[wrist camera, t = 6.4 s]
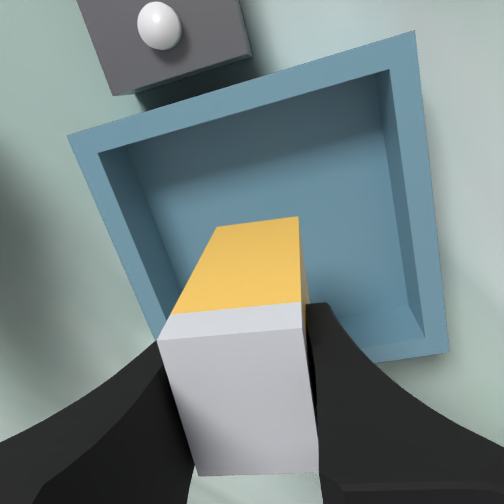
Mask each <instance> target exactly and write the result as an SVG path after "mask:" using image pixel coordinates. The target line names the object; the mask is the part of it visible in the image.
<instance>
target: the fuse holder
mask: <svg viewBox="0 0 504 504" xmlns="http://www.w3.org/2000/svg"><path fill="white" fill-rule="evenodd" d="M77 3H78V5H79V8H80V11H81V13H82V16H83V19H84V21H85V24H86V26H87V29H88V32H89V34H90V37H91V40H92V42H93V45H94V48H95V50H96V53H97V56H98V58H99V61H100V63H101V66H102V69H103V71H104V74H105V77H106V79H107V82H108V85H109V87H110V90H111V93H112V95H113V96H119V95H130V94H136V93H139V92H143V91H146V90H149V89H152V88H155V87H158V86H162V85H165V84H168V83H171V82H174V81H178V80H181V79H184V78H187V77H190V76H193V75H197V74H200V73H203V72H206V71H209V70H213V69H216V68H219V67H222V66H225V65H228V64H232V63H235V62H238V61H241V60H244V59H248V58H251V57H253V56H252V51H251V47H250V43H249V39H248V35H247V31H246V27H245V23H244V19H243V15H242V11H241V7H240V3H239V0H77Z"/></svg>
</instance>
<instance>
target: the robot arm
mask: <svg viewBox="0 0 504 504" xmlns="http://www.w3.org/2000/svg"><path fill="white" fill-rule="evenodd" d="M306 327H307V334H308V342H309V349H310V356H311V364H312V371H313V378H314V385H315V393H316V400H317V411H318V450H319V477H320V484H321V491H322V497H323V504H504V447H502V446H500V445H498V444H496V443H494V442H492V441H490V440H488V439H486V438H484V437H482V436H480V435H478V434H476V433H474V432H472V431H470V430H468V429H466V428H464V427H462V426H460V425H458V424H456V423H455V422H453V421H451V420H450V419H448V418H446V417H444V416H443V415H441V414H439V413H438V412H436V411H434V410H433V409H431V408H430V407H428V406H427V405H425V404H424V403H422V402H421V401H420V400H418V399H417V398H415V397H414V396H412V395H411V394H409V393H408V392H407V391H405V390H404V389H403V388H402V387H400V386H399V385H398V384H397V383H395V382H394V381H393V380H392V379H391V378H389V377H388V376H387V375H386V374H385V373H384V372H383V371H381V370H380V369H379V368H378V367H377V366H376V365H375V364H374V363H373V362H372V361H371V360H370V359H369V358H368V357H367V356H366V355H365V353H364V352H363V351H362V350H361V349H360V348H359V347H358V346H357V345H356V343H355V342H354V341H353V340H352V338H351V337H350V336H349V335H348V333H347V332H346V331H345V330H344V328H343V327H342V325H341V324H340V322H339V321H338V319H337V318H336V316H335V315H334V313H333V311H332V309H331V306H330V305H329V304H328V303H326V302H322V303H311V304H306ZM194 466H195V463H194V460H193V457H192V454H191V450H190V447H189V444H188V441H187V438H186V434H185V431H184V428H183V425H182V421H181V418H180V415H179V412H178V408H177V405H176V402H175V399H174V396H173V392H172V389H171V386H170V383H169V379H168V376H167V373H166V370H165V366H164V363H163V360H162V357H161V354H160V350H159V347H158V344H157V341H155V342H154V343H152V344H151V345H150V346H149V347H148V348H147V349H146V350H145V351H143V352H142V353H141V354H140V355H139V356H137V357H136V358H135V359H134V360H133V361H131V362H130V363H129V364H128V365H126V366H125V367H124V368H123V369H121V370H120V371H119V372H118V373H117V374H115V375H114V376H113V377H111V378H110V379H109V380H107V381H106V382H104V383H103V384H102V385H100V386H99V387H97V388H96V389H94V390H93V391H91V392H90V393H89V394H87V395H86V396H84V397H83V398H81V399H79V400H78V401H76V402H74V403H73V404H71V405H69V406H68V407H66V408H64V409H63V410H61V411H59V412H57V413H56V414H54V415H52V416H51V417H49V418H47V419H46V420H44V421H42V422H40V423H38V424H36V425H34V426H32V427H31V428H29V429H27V430H25V431H23V432H21V433H19V434H17V435H15V436H13V437H11V438H9V439H6V440H4V441H2V442H0V504H187V498H188V493H189V487H190V483H191V478H192V474H193V470H194Z"/></svg>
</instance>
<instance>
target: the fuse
mask: <svg viewBox="0 0 504 504" xmlns="http://www.w3.org/2000/svg"><path fill="white" fill-rule="evenodd" d="M306 304H310V302H309V294H308V286H307V278H306V271H305V263H304V255H303V248H302V240H301V232H300V225H299V217H298V216H296V217H288V218H281V219H273V220H265V221H258V222H250V223H242V224H234V225H227V226H219V227H216V229H215V231H214V233H213V235H212V237H211V239H210V240H209V242H208V244H207V246H206V248H205V250H204V252H203V254H202V256H201V257H200V259H199V261H198V263H197V265H196V267H195V269H194V271H193V273H192V274H191V276H190V278H189V280H188V282H187V284H186V286H185V288H184V290H183V291H182V293H181V295H180V297H179V299H178V301H177V303H176V305H175V307H174V308H173V310H172V312H171V314H170V316H169V318H168V320H167V322H166V323H165V325H164V327H163V329H162V331H161V333H160V335H159V337H158V339H157V340H156V341H157V344H158V347H159V350H160V354H161V357H162V360H163V363H164V366H165V370H166V373H167V376H168V379H169V383H170V386H171V389H172V392H173V396H174V399H175V402H176V405H177V408H178V412H179V415H180V418H181V421H182V425H183V428H184V431H185V434H186V438H187V441H188V444H189V447H190V450H191V454H192V457H193V460H194V463H195V467H196V470H197V473H198V476H228V475H261V474H293V473H319V450H318V411H317V400H316V393H315V385H314V378H313V371H312V364H311V356H310V349H309V342H308V334H307V327H306Z"/></svg>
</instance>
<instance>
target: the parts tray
mask: <svg viewBox="0 0 504 504" xmlns="http://www.w3.org/2000/svg"><path fill="white" fill-rule="evenodd" d="M67 138H68V140H69V143H70V145H71V147H72V150H73V152H74V154H75V157H76V159H77V161H78V164H79V166H80V168H81V170H82V173H83V175H84V177H85V180H86V182H87V184H88V187H89V189H90V191H91V194H92V196H93V198H94V200H95V203H96V205H97V207H98V210H99V212H100V214H101V217H102V219H103V221H104V224H105V226H106V228H107V230H108V233H109V235H110V237H111V240H112V242H113V244H114V247H115V249H116V251H117V254H118V256H119V258H120V260H121V263H122V265H123V267H124V270H125V272H126V274H127V277H128V279H129V281H130V284H131V286H132V288H133V290H134V293H135V295H136V297H137V300H138V302H139V304H140V307H141V309H142V311H143V314H144V316H145V318H146V320H147V323H148V325H149V327H150V330H151V332H152V334H153V337H154V339H155V341H156V340H157V339H158V337H159V335H160V333H161V331H162V329H163V327H164V325H165V323H166V322H167V320H168V318H169V316H170V314H171V312H172V310H173V308H174V307H175V305H176V303H177V301H178V299H179V297H180V295H181V293H182V291H183V290H184V288H185V286H186V284H187V282H188V280H189V278H190V276H191V274H192V273H193V271H194V269H195V267H196V265H197V263H198V261H199V259H200V257H201V256H202V254H203V252H204V250H205V248H206V246H207V244H208V242H209V240H210V239H211V237H212V235H213V233H214V231H215V229H216V227H219V226H227V225H234V224H242V223H250V222H258V221H265V220H273V219H281V218H288V217H296V216H298V217H299V225H300V232H301V240H302V248H303V255H304V263H305V271H306V278H307V286H308V294H309V302H310V304H311V303H322V302H326V303H328V304H329V305H330V306H331V309H332V311H333V313H334V315H335V316H336V318H337V319H338V321H339V322H340V324H341V325H342V327H343V328H344V330H345V331H346V332H347V333H348V335H349V336H350V337H351V338H352V340H353V341H354V342H355V343H356V345H357V346H358V347H359V348H360V349H361V350H362V351H363V352H364V353H365V355H366V356H367V357H368V358H369V359H370V360H371V361H372V362H373V363H380V362H387V361H394V360H400V359H407V358H413V357H420V356H427V355H433V354H440V353H446V352H450V351H449V342H448V332H447V323H446V314H445V305H444V295H443V286H442V277H441V268H440V258H439V249H438V240H437V231H436V221H435V212H434V203H433V194H432V184H431V175H430V166H429V157H428V147H427V138H426V129H425V119H424V110H423V101H422V92H421V82H420V73H419V64H418V55H417V45H416V36H415V30H413V31H410V32H407V33H403V34H400V35H397V36H394V37H390V38H387V39H384V40H380V41H377V42H374V43H370V44H367V45H364V46H361V47H357V48H354V49H351V50H347V51H344V52H341V53H337V54H334V55H331V56H328V57H324V58H321V59H318V60H314V61H311V62H308V63H304V64H301V65H298V66H295V67H291V68H288V69H285V70H281V71H278V72H275V73H271V74H268V75H265V76H262V77H258V78H255V79H252V80H248V81H245V82H242V83H238V84H235V85H232V86H229V87H225V88H222V89H219V90H215V91H212V92H209V93H205V94H202V95H199V96H196V97H192V98H189V99H186V100H182V101H179V102H176V103H172V104H169V105H166V106H163V107H159V108H156V109H153V110H149V111H146V112H143V113H139V114H136V115H133V116H130V117H126V118H123V119H120V120H116V121H113V122H110V123H106V124H103V125H100V126H97V127H93V128H90V129H87V130H83V131H80V132H77V133H73V134H70V135H67Z"/></svg>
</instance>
